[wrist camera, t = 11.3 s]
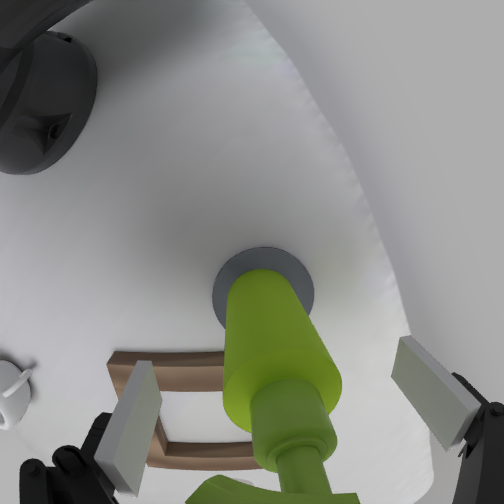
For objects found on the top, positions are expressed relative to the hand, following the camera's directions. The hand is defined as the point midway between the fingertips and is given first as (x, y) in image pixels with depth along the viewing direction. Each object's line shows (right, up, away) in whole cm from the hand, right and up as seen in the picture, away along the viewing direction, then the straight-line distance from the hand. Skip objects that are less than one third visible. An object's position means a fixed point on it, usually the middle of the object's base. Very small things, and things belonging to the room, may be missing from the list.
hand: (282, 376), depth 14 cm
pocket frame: (-7, -12, +15) cm, 20 cm away
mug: (-33, -10, +13) cm, 37 cm away
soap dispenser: (-1, +2, +12) cm, 12 cm away
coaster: (0, +2, +12) cm, 13 cm away
